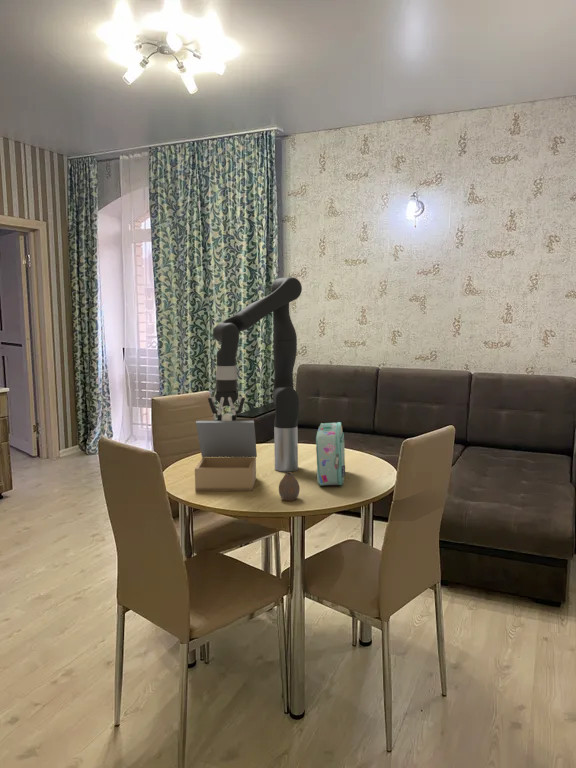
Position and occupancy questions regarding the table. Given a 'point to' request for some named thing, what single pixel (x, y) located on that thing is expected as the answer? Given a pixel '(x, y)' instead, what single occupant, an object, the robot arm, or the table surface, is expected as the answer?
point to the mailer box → (225, 474)
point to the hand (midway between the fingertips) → (227, 424)
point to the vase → (289, 487)
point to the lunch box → (330, 454)
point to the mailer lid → (227, 438)
